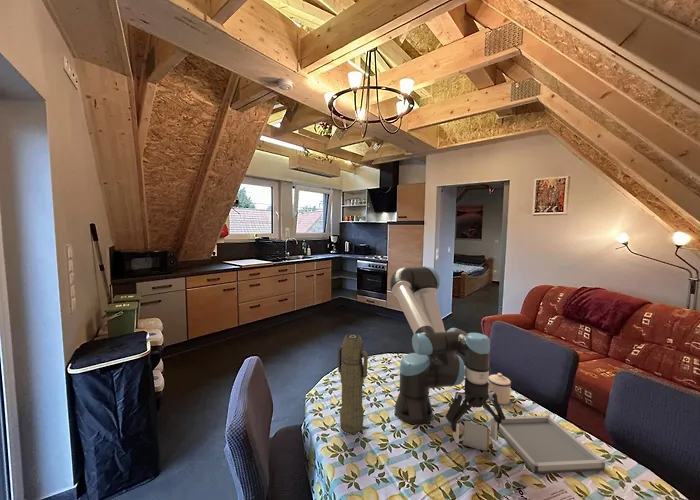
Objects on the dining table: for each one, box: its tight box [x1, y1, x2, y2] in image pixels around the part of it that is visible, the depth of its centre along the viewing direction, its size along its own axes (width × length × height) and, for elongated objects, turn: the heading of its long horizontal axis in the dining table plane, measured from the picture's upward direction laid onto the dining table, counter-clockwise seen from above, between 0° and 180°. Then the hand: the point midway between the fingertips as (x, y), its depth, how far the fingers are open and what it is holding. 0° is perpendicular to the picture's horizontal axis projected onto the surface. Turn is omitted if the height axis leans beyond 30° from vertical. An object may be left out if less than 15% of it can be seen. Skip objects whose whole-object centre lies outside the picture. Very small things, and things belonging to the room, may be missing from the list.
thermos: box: [337, 333, 369, 435], centre depth 107 cm, size 9×12×35 cm
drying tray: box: [497, 415, 606, 475], centre depth 99 cm, size 23×23×2 cm
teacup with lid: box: [488, 372, 512, 405], centre depth 127 cm, size 12×9×12 cm
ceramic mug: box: [462, 420, 491, 452], centre depth 99 cm, size 11×8×8 cm
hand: (474, 439), depth 98 cm, fingers open, 13 cm apart
